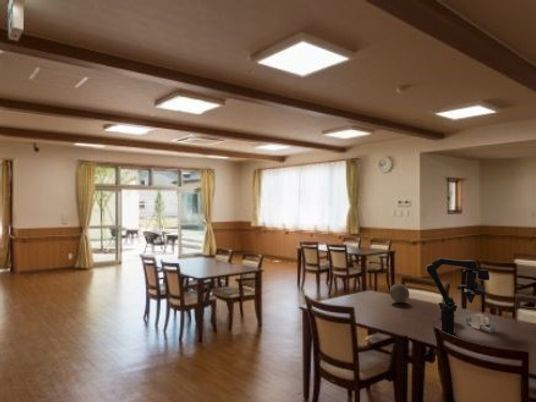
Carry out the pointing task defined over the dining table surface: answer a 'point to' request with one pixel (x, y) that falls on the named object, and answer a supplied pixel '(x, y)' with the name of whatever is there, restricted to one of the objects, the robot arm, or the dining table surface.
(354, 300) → the dining table surface
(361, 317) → the dining table surface
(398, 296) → the cantaloupe
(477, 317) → the carriage
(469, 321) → the rail
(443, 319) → the black fluted column
